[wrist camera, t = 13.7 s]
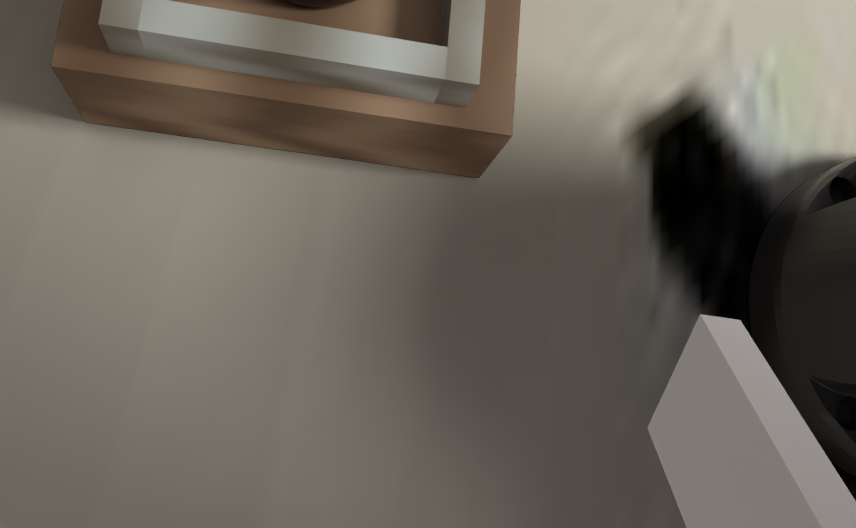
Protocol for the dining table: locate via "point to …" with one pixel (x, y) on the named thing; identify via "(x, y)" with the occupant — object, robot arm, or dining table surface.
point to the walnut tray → (302, 75)
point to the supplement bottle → (320, 2)
